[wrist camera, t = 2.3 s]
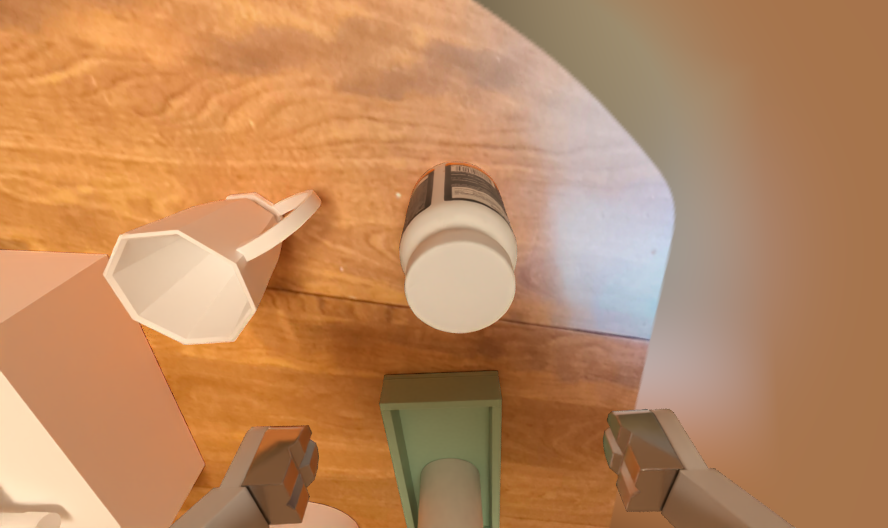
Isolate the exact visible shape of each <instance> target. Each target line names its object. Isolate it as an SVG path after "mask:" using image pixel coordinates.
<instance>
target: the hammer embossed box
mask: <svg viewBox="0 0 888 528" xmlns="http://www.w3.org/2000/svg"><path fill="white" fill-rule="evenodd" d="M108 261H109V258H108V256H107V254H86V253H64V252H43V251H22V250H0V528H169V527H170V526H171V524H172V522H173V520H174V519H175V517H176V515H177V513H178V512H179V510H180V508H181V506H182V505H183V503H184V501H185V499H186V497H187V496H188V494H189V492H190V490H191V489H192V487H193V485H194V483H195V481H196V480H197V478H198V476H199V474H200V473H201V471H202V469H203V467H204V466H205V463H204V461H203V459H202V457H201V455H200V453H199V450H198V448H197V446H196V444H195V442H194V440H193V438H192V436H191V433H190V431H189V429H188V427H187V425H186V423H185V421H184V418H183V416H182V414H181V412H180V410H179V408H178V406H177V403H176V401H175V399H174V397H173V395H172V393H171V391H170V388H169V386H168V384H167V382H166V380H165V378H164V376H163V373H162V371H161V369H160V367H159V365H158V363H157V361H156V358H155V356H154V354H153V352H152V350H151V348H150V346H149V343H148V341H147V339H146V337H145V335H144V333H143V331H142V328H141V326H140V324H139V322H137V321H135V320H133V319H132V318H131V316H130V315H129V313H128V312H127V310H126V309H125V307H124V306H123V304H122V303H121V301H120V300H119V298H118V297H117V295H116V294H115V292H114V291H113V289H112V288H111V286H110V285H109V283H108V282H107V280H106V279H105V277H104V276H103V273H104V271H105V268H106V266H107V264H108Z"/></svg>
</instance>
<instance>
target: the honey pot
mask: <svg viewBox="0 0 888 528" xmlns="http://www.w3.org/2000/svg"><path fill="white" fill-rule="evenodd" d="M269 526H270V528H359V527H358V525H357V523H356V522H355V521H354V520H353V519H352V518H351V517H349V516H348V515H347V514H345V513H343V512H341V511H339V510H337V509H335V508H332V507H329V506H326V505H323V504H318V503H312V502H308V504H307V508H306V511H305V514H304V518H303V521H302V523H296V524H281V525H269Z"/></svg>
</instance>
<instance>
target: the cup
mask: <svg viewBox="0 0 888 528" xmlns="http://www.w3.org/2000/svg"><path fill="white" fill-rule="evenodd" d="M320 206H321V200H320V198H319V197H318V195H317V194H316V193H315V191H314V190H306V191H303V192H300V193H297V194H295V195H292V196H290V197H287V198H285V199H283V200H281V201H279V202H278V203H276V204H273V203H271V202H270V201H268V200H267V199H265V198H264V197H262V196H261V195H259V194H257V193H256V192H253V193H243V194H232V195H229V196H227V198H226V200H219V201H215V202H210V203H206V204H202V205H197V206H193V207H190V208H188V209H185V210H183V211H180V212H178V213H175V214H173V215H170V216H168V217H165V218H163V219H160V220H158V221H155V222H152V223H149V224H147V225H144V226H141V227H139V228H136V229H134V230H131V231H128V232H126V233H123V234H121V235H119V237H118V240H117V242H116V245H115V247H114V249H113V252H112V254H111V256H110V259H109V261H108V264H107V266H106V268H105V271H104V273H103V276H104V277H105V279H106V280H107V282H108V283H109V285H110V286H111V288H112V289H113V291H114V292H115V294H116V295H117V297H118V298H119V300H120V301H121V303H122V304H123V306H124V307H125V309H126V310H127V312H128V313H129V315H130V316H131V318H132V319H133V320H135V321H137V322H139V323H141V324H143V325H145V326H147V327H149V328H151V329H153V330H155V331H157V332H160V333H162V334H164V335H166V336H168V337H170V338H172V339H174V340H176V341H178V342H180V343H182V344H184V345H191V344H205V343H220V342H234V341H235V340H236V338H237V337H238V336H239V334H240V333H241V331H242V330H243V329H244V327H245V326H246V324H247V323H248V322H249V320H250V319H251V317H252V316H253V315H254V313H255V312H256V310H257V308H258V306H259V304H260V301H261V299H262V297H263V294H264V292H265V289H266V287H267V284H268V282H269V279H270V277H271V275H272V273H273V270H274V268H275V266H276V264H277V261H278V259H279V255H280V250H281V246H282V241H283V240H285V239H286V238H287V237H288V236H290V235H291V234H292V233H293V232H295V231H296V230H297V229H299V228H300V227H301V226H302V225H303V224H304V223H305V222H306V221H307V220H308V219H309V218H310V217H311V216H312V215H313V214H314V213H315V212H316V210H317V209H318V208H319V207H320ZM293 209H294V210H293ZM291 210H293V211H292V212H291V213H290V214H289V215H287V216H286V217H285V218H283V216H282V215H283V214H285V213H286V212H288V211H291Z"/></svg>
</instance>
